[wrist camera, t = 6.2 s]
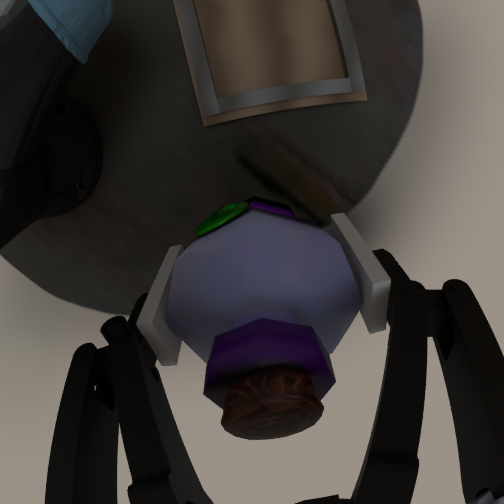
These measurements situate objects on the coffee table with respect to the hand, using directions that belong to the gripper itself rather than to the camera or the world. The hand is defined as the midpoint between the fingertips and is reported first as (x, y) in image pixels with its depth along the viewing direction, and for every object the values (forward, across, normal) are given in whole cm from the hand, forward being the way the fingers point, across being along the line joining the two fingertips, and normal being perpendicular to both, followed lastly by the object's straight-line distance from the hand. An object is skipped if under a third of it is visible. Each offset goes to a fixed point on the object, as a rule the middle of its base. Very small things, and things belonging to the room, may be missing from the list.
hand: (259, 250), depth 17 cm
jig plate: (+17, +5, +16) cm, 24 cm away
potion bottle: (+2, 0, 0) cm, 2 cm away
